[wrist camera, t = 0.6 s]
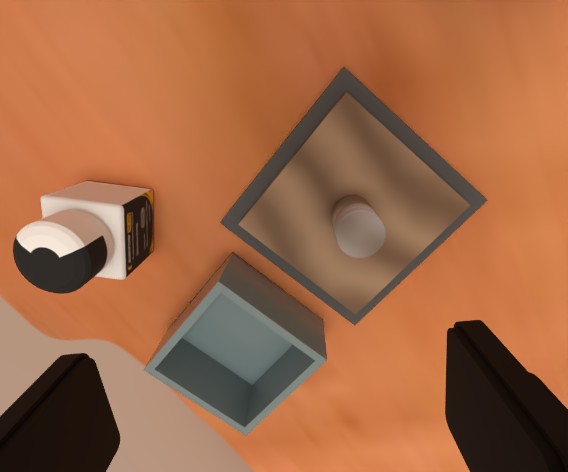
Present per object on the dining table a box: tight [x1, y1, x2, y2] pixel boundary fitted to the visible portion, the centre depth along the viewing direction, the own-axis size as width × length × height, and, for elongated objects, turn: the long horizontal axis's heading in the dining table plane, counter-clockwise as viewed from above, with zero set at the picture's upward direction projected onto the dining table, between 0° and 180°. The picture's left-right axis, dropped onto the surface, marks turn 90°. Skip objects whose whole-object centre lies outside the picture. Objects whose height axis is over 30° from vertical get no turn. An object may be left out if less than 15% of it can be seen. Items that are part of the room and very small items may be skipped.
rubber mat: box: [220, 67, 487, 325], centre depth 37 cm, size 19×19×1 cm
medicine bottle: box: [13, 181, 153, 293], centre depth 33 cm, size 7×7×12 cm
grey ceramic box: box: [144, 252, 327, 435], centre depth 39 cm, size 13×13×7 cm
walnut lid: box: [238, 92, 470, 315], centre depth 33 cm, size 16×16×7 cm
